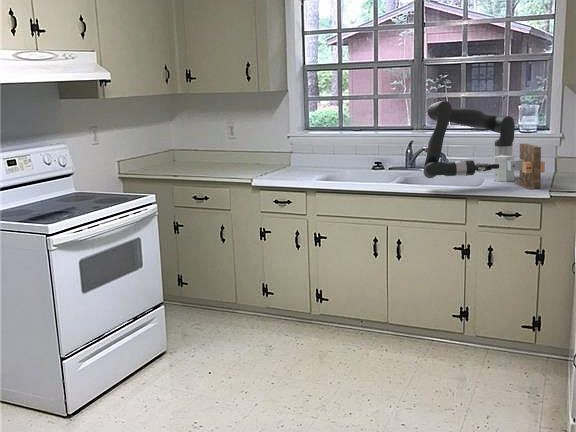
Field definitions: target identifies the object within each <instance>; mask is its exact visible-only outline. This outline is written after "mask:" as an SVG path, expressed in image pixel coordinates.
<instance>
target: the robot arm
mask: <svg viewBox="0 0 576 432" xmlns="http://www.w3.org/2000/svg"><path fill="white" fill-rule="evenodd" d="M426 112H427V115H428V117H429V118H430V119H431V120H432V121H435V122H436V125H435V127H434V129H433V132H432V133H431V136H430V138H429V140H428V144H427V150H426V151H427V152H426V158H425V161H424V166H423V169H422V170H423V175H424V176H425V177H426V178H427V179H434V178H435V177H436V176H445V177H453V176H454V177H464V176H467V177H468V176H474V175H475V174H476V172H487V171H488V172H489V171H492V170H494V169H499V164H494V163H485V162H481V163H480V162H476V163H475V161H474V160H473V159H471V160H458V161H448V162H444V161H443V162H442V161H440V159H441V155H442V151H443V143H444V140H445V139H444V138H445V136H446V131H447V130H448V126H449V123H453V124H456V125H460V126H464V127H469V128H477V129H484V130H485V129H486V130H487V131H491V132H493V133H497V134H500V135H499V138H498V139H496V140H495V141H494V156H501V155H504V156H513V143H514V140H515V129H516V128H515V126H516V125H515V120H514V118H513V116H509V115H489V114H486V113H484V112H482V111H481V110H478V109H474V108H469V107H468V108H467V107H463V108H462V107H458V108H452V105H451V103H450V102H449V101H448V100H441V101H437V102H434V103H432V104H431V105H429V106H428V108H427V111H426Z"/></svg>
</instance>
